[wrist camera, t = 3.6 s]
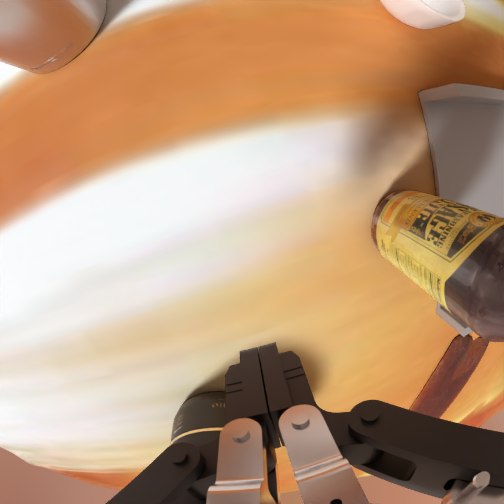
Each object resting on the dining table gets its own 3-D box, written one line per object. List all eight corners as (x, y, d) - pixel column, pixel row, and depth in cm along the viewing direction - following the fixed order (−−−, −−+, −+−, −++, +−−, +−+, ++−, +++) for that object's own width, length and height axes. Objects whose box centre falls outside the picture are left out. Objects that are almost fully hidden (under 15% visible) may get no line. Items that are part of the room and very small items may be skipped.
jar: (282, 396, 26) (296, 455, 19) (248, 445, 29) (253, 496, 22) (185, 375, 25) (177, 438, 17) (167, 430, 27) (159, 483, 20)
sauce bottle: (419, 181, 21) (635, 251, 2) (426, 247, 23) (599, 362, 4) (356, 198, 21) (612, 322, 2) (368, 270, 23) (542, 444, 4)
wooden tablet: (450, 332, 27) (457, 338, 26) (487, 332, 29) (494, 338, 27) (362, 461, 35) (365, 468, 33) (405, 452, 36) (409, 458, 34)
